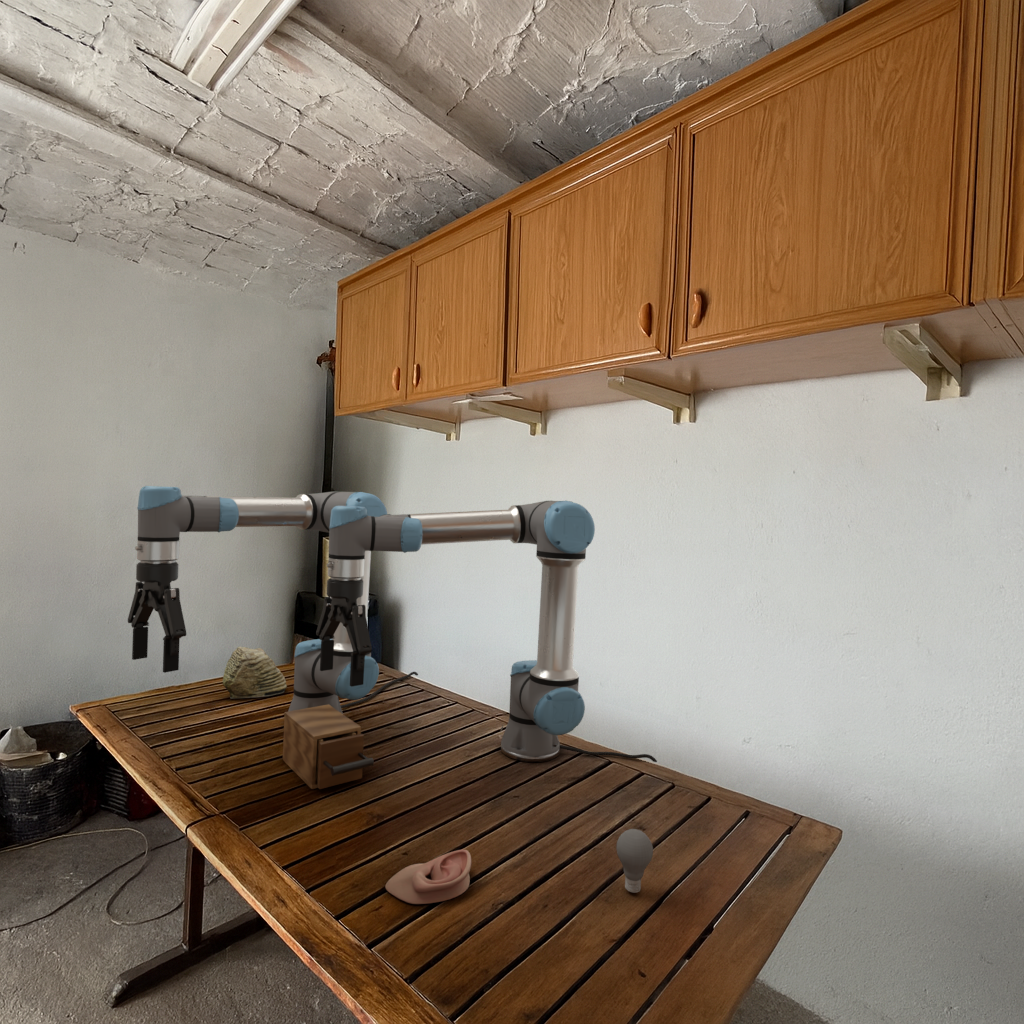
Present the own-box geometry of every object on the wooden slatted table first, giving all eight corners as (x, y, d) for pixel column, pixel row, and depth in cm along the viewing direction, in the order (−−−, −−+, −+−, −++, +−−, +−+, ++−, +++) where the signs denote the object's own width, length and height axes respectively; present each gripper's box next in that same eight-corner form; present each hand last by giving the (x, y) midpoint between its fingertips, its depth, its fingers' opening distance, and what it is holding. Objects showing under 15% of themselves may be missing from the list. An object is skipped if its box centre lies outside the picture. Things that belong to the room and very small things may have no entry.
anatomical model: (378, 873, 101) (404, 836, 112) (377, 898, 101) (403, 858, 112) (458, 887, 98) (477, 848, 109) (457, 912, 98) (476, 870, 109)
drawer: (374, 788, 137) (376, 743, 136) (330, 800, 130) (332, 753, 130) (331, 752, 155) (332, 712, 154) (291, 761, 148) (292, 720, 148)
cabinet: (359, 777, 144) (361, 726, 144) (311, 789, 137) (313, 736, 137) (326, 750, 158) (328, 704, 158) (282, 760, 151) (284, 712, 151)
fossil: (218, 695, 195) (220, 647, 195) (278, 685, 208) (279, 640, 207) (228, 703, 189) (230, 653, 188) (289, 692, 201) (290, 645, 201)
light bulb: (610, 879, 108) (613, 822, 108) (644, 879, 109) (647, 822, 109) (619, 902, 102) (622, 840, 102) (655, 901, 103) (658, 840, 103)
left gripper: (111, 556, 134) (108, 656, 134) (168, 568, 119) (164, 680, 120) (149, 555, 140) (146, 650, 140) (207, 566, 125) (203, 672, 126)
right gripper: (303, 572, 142) (299, 666, 142) (358, 586, 123) (353, 695, 123) (334, 570, 147) (330, 661, 147) (392, 585, 128) (386, 689, 129)
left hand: (154, 664), depth 130 cm, fingers open, 13 cm apart
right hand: (340, 677), depth 135 cm, fingers open, 13 cm apart
